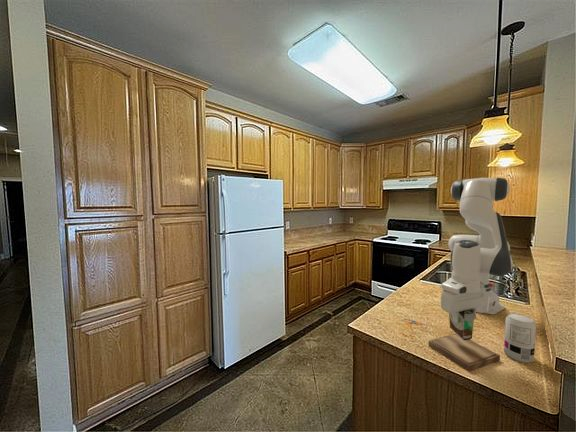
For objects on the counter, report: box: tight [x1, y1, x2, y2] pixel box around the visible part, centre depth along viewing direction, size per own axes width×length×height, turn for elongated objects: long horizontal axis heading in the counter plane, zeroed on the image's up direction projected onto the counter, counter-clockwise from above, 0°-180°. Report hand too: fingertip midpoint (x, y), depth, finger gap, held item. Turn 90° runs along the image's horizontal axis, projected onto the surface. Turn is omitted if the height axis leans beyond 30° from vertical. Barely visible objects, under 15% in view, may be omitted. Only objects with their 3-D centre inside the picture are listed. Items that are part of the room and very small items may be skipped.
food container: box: [448, 309, 477, 340], centre depth 95 cm, size 12×6×10 cm, turn 173°
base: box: [428, 332, 501, 372], centre depth 95 cm, size 16×16×2 cm
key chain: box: [402, 318, 430, 333], centre depth 116 cm, size 13×7×1 cm, turn 45°
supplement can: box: [503, 312, 537, 364], centre depth 92 cm, size 8×8×15 cm
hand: (463, 319), depth 94 cm, fingers closed on food container, 6 cm apart
